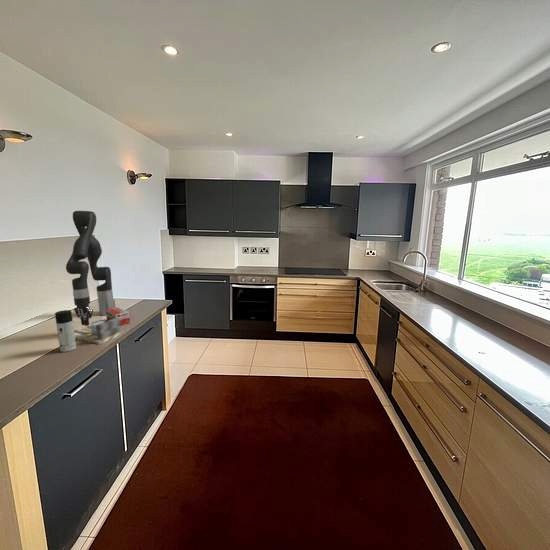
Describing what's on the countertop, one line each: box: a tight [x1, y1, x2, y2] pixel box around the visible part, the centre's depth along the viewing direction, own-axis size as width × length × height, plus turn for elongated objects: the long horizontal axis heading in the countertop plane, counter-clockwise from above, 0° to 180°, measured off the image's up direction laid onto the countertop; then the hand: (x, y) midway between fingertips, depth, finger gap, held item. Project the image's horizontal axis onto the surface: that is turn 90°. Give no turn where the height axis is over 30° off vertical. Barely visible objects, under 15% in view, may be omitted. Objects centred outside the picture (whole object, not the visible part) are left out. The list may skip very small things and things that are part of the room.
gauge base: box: [74, 318, 125, 345], centre depth 165 cm, size 16×26×10 cm, turn 68°
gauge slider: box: [87, 320, 104, 336], centre depth 161 cm, size 10×6×6 cm, turn 158°
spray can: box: [54, 309, 77, 353], centre depth 146 cm, size 7×7×20 cm
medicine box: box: [105, 307, 131, 326], centre depth 186 cm, size 15×8×8 cm, turn 53°
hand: (85, 325), depth 167 cm, fingers closed
